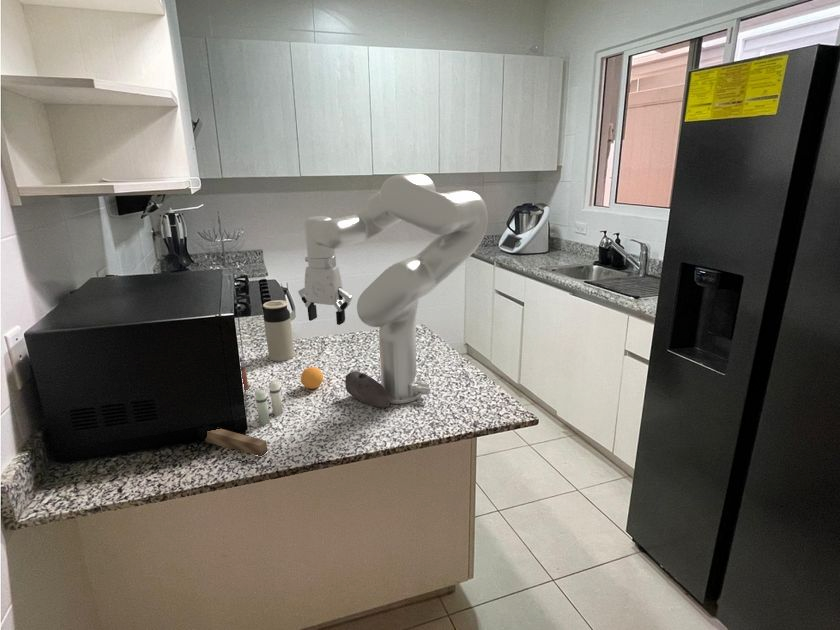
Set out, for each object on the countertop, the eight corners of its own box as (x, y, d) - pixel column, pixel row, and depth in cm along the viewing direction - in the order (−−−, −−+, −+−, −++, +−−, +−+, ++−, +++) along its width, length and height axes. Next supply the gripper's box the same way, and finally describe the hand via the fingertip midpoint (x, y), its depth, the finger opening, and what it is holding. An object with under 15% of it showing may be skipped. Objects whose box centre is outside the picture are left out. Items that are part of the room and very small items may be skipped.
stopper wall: (267, 452, 107) (266, 440, 106) (261, 457, 105) (260, 445, 104) (206, 435, 114) (204, 424, 113) (200, 439, 112) (197, 428, 111)
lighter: (222, 387, 137) (216, 354, 134) (231, 382, 140) (226, 350, 137) (242, 393, 133) (237, 359, 130) (252, 388, 136) (247, 355, 133)
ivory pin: (285, 411, 124) (281, 381, 121) (278, 416, 121) (274, 386, 119) (277, 409, 124) (273, 380, 122) (270, 414, 122) (266, 384, 120)
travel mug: (279, 364, 151) (272, 309, 145) (263, 358, 156) (256, 304, 150) (299, 355, 157) (294, 302, 151) (284, 350, 162) (277, 298, 156)
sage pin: (272, 421, 119) (268, 390, 116) (265, 426, 117) (260, 395, 114) (264, 419, 120) (259, 388, 117) (257, 424, 118) (252, 393, 115)
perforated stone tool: (396, 408, 124) (395, 383, 122) (381, 416, 121) (380, 391, 119) (359, 389, 134) (357, 366, 132) (344, 396, 131) (342, 373, 128)
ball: (328, 384, 137) (326, 365, 135) (315, 394, 132) (313, 374, 130) (310, 381, 140) (308, 362, 138) (297, 390, 134) (295, 370, 132)
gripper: (287, 262, 133) (293, 321, 139) (341, 268, 127) (345, 329, 132) (304, 257, 140) (309, 313, 145) (356, 262, 133) (359, 321, 139)
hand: (326, 321), depth 139 cm, fingers open, 9 cm apart
